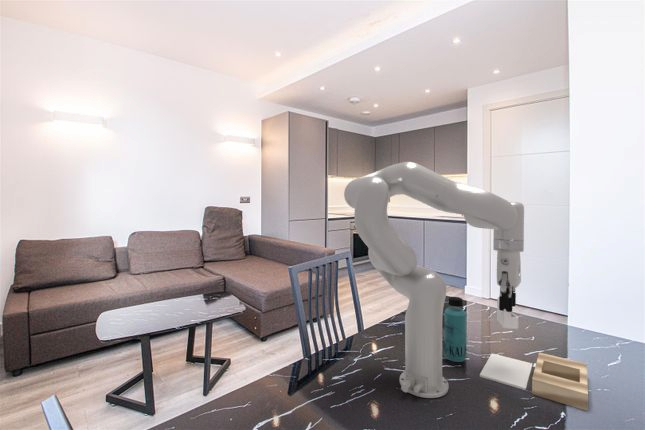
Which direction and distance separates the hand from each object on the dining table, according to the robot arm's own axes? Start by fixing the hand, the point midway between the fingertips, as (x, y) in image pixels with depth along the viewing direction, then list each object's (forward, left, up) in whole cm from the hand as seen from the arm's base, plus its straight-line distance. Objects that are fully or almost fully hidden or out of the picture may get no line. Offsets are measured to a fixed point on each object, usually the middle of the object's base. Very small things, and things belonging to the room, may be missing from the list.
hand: (507, 307), depth 93 cm
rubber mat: (0, 0, -19) cm, 19 cm away
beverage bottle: (-3, +13, -19) cm, 23 cm away
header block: (0, -13, -19) cm, 22 cm away
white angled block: (0, 0, -5) cm, 5 cm away
